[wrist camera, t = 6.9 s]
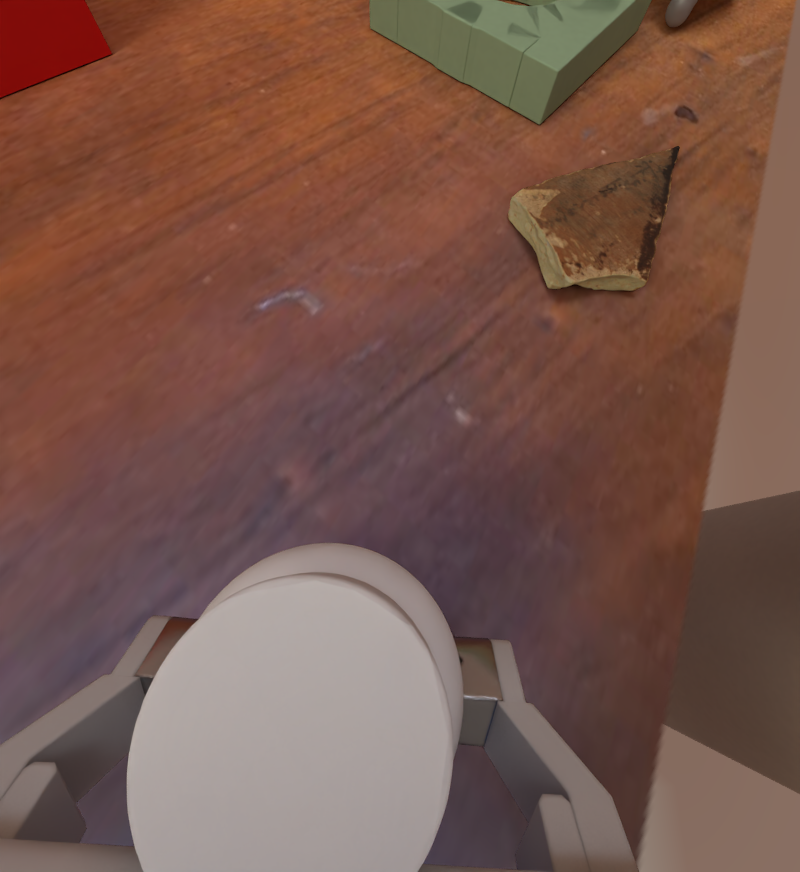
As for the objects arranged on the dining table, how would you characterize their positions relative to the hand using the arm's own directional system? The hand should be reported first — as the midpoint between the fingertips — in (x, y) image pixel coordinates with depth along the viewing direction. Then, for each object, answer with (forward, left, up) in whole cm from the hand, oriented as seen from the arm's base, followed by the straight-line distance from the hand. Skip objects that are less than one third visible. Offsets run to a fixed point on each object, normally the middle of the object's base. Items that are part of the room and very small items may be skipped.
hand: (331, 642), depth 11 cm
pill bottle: (0, +1, -6) cm, 6 cm away
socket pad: (+17, -35, -6) cm, 40 cm away
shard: (+4, -24, -6) cm, 25 cm away
